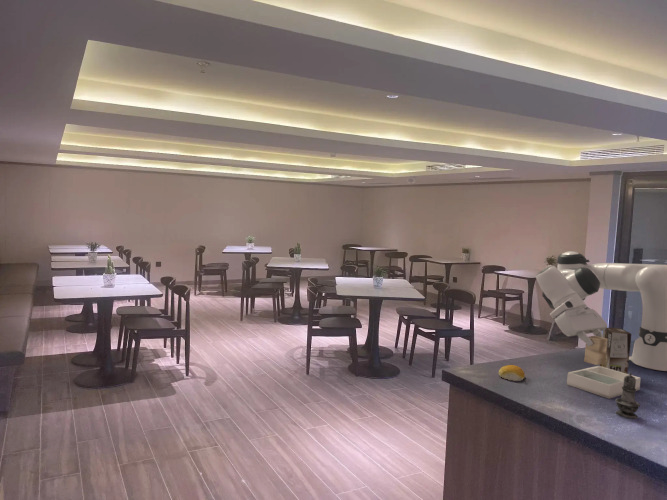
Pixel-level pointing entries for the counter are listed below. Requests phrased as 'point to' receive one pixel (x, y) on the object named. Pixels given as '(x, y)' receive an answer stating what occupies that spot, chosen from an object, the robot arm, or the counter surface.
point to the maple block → (596, 351)
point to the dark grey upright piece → (628, 399)
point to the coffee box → (617, 349)
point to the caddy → (600, 381)
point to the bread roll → (512, 373)
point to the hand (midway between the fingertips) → (597, 344)
